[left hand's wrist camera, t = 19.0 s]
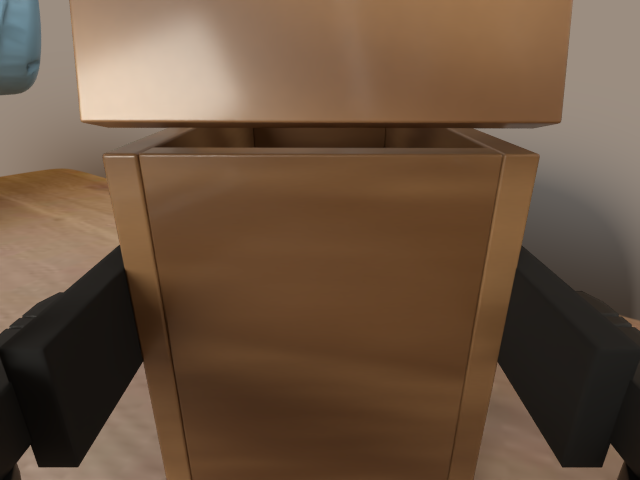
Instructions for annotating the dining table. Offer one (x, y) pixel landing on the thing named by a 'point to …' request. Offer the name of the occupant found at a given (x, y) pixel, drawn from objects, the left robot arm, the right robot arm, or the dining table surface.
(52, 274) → the dining table surface
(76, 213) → the dining table surface
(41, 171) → the dining table surface
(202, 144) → the chest
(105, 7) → the lid
